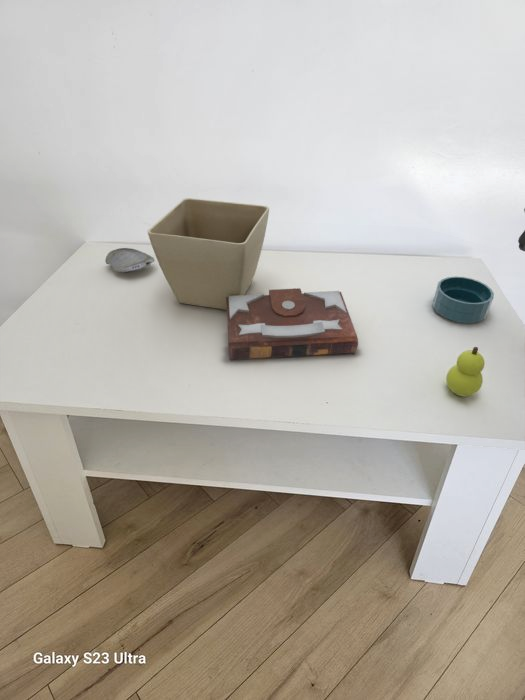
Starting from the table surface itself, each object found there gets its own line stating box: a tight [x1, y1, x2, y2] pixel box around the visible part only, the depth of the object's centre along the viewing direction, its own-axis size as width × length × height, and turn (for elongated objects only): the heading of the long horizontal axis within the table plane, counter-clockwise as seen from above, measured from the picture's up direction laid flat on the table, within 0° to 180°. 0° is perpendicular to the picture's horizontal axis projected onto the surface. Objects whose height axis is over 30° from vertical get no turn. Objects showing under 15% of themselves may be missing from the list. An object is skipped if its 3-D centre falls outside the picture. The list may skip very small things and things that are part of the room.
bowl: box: [432, 276, 495, 324], centre depth 94 cm, size 11×11×5 cm
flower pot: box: [147, 197, 270, 311], centre depth 95 cm, size 19×19×17 cm
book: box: [226, 287, 359, 361], centre depth 87 cm, size 23×16×5 cm
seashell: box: [104, 247, 156, 273], centre depth 106 cm, size 12×8×5 cm
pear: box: [445, 346, 485, 397], centre depth 73 cm, size 5×5×9 cm
